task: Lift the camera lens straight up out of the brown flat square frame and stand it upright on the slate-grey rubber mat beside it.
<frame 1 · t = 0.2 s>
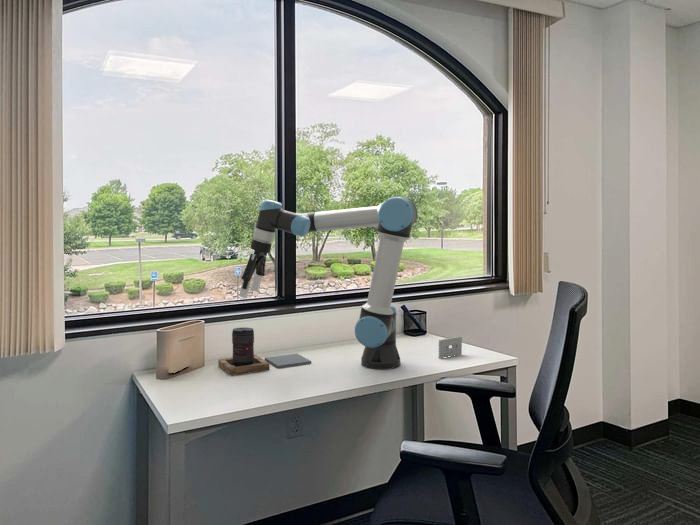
hand: (248, 293, 213), 28 cm above the table, tool tilted 15°, fingers open, 13 cm apart
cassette: (450, 357, 228), on the table
brown flat square frame: (243, 367, 211), on the table
camera lens: (243, 368, 211), resting in brown flat square frame
mat: (287, 361, 220), on the table
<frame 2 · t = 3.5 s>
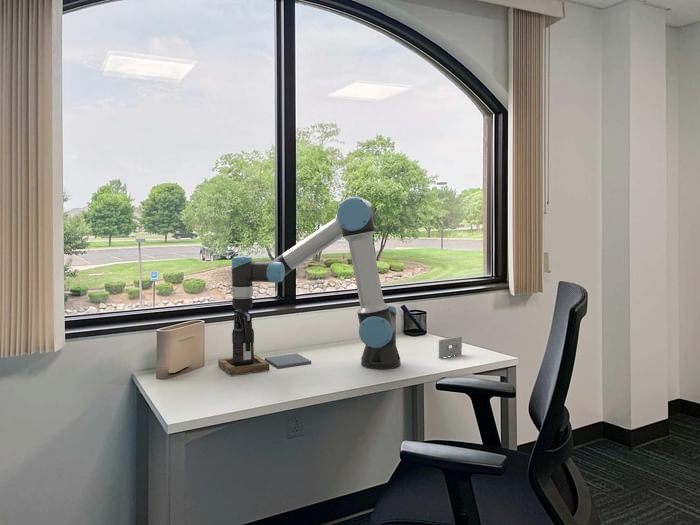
hand: (243, 356, 211), 4 cm above the table, tool pointing down, fingers closed on camera lens, 8 cm apart
camera lens: (243, 368, 211), resting in brown flat square frame, touching gripper
everything else where it was.
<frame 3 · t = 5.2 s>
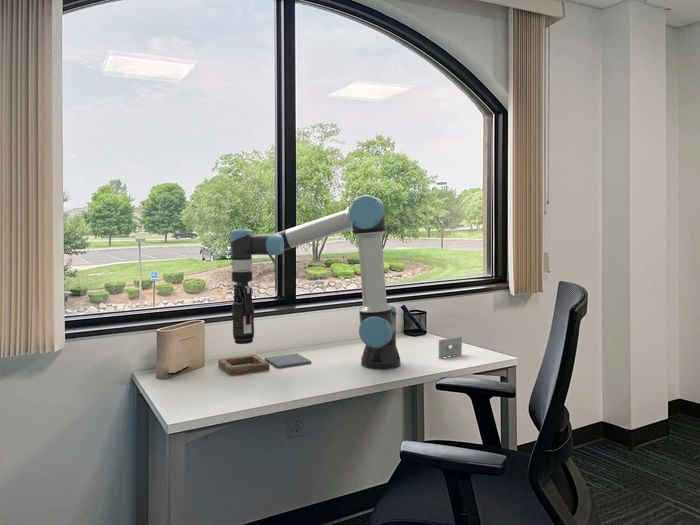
hand: (243, 330, 210), 14 cm above the table, tool pointing down, fingers closed on camera lens, 8 cm apart
camera lens: (244, 342, 210), point 10 cm above the table, touching gripper
everything else where it was.
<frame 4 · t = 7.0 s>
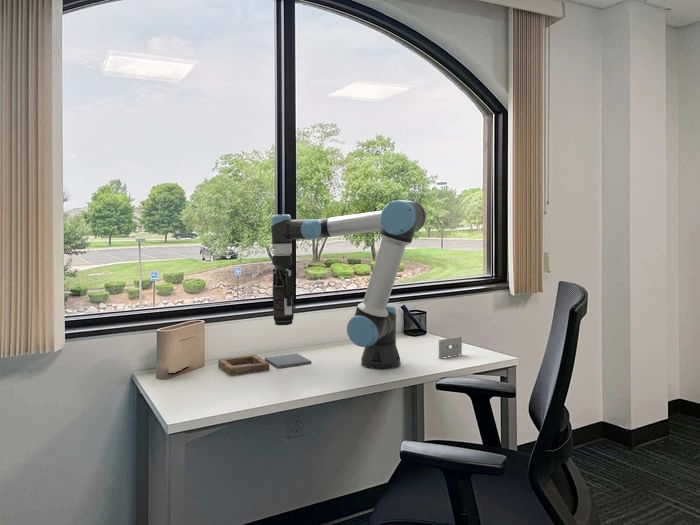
hand: (283, 313, 217), 20 cm above the table, tool pointing down, fingers closed on camera lens, 8 cm apart
camera lens: (283, 324, 217), point 15 cm above the table, touching gripper
everything else where it was.
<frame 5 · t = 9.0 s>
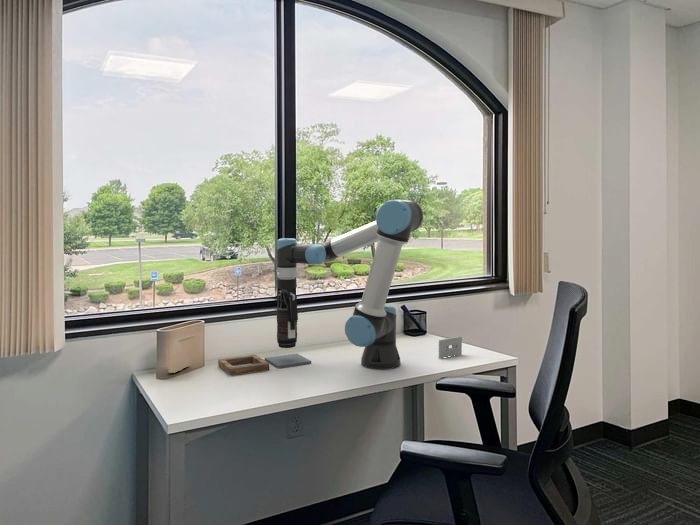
hand: (287, 335, 219), 10 cm above the table, tool pointing down, fingers closed on camera lens, 8 cm apart
camera lens: (287, 346, 220), point 6 cm above the table, touching gripper
everything else where it was.
when the fingers open (6 cm above the table, at t = 10.7 s): camera lens stays where it is, resting on mat.
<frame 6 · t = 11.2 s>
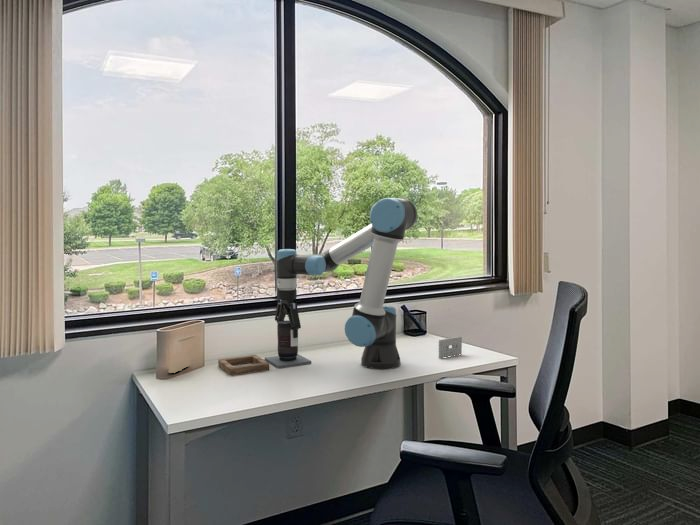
hand: (287, 342, 219), 8 cm above the table, tool pointing down, fingers open, 13 cm apart
camera lens: (288, 359, 220), point 1 cm above the table, touching mat
everything else where it was.
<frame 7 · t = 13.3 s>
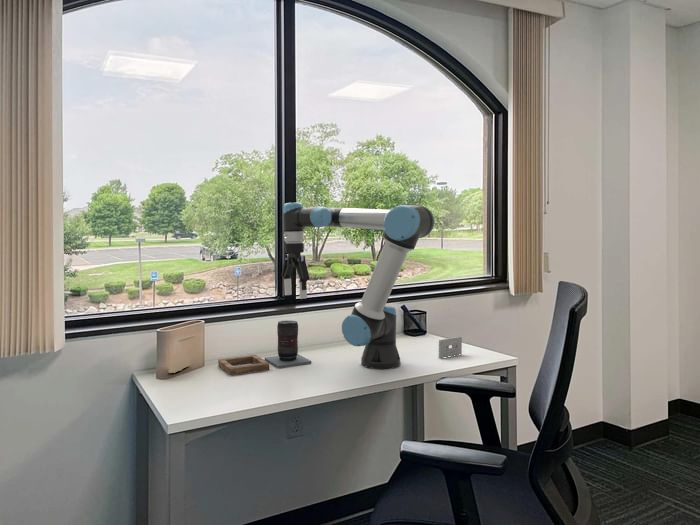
hand: (295, 296, 219), 26 cm above the table, tool pointing down, fingers open, 13 cm apart
nothing on the table moved.
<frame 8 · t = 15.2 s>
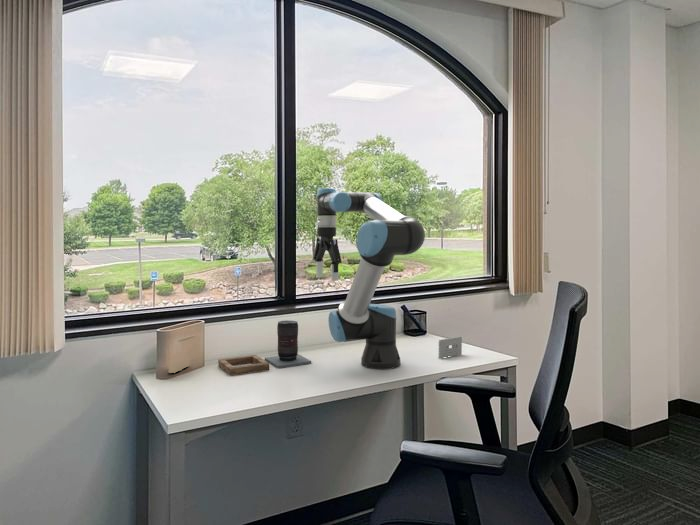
hand: (327, 279, 227), 32 cm above the table, tool pointing down, fingers open, 13 cm apart
nothing on the table moved.
at the end: camera lens inside the target area on the mat (0.2 cm from its centre), point 0.8 cm above the mat's base; camera lens tilted 0°; the gripper is holding nothing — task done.
